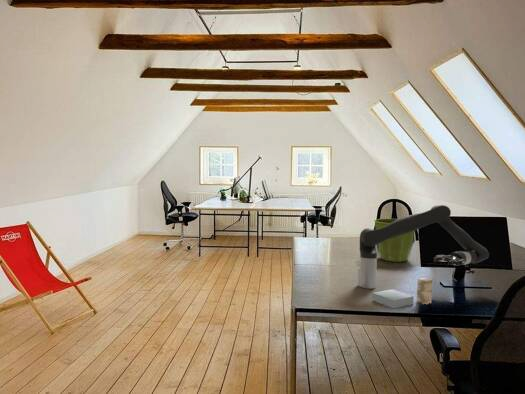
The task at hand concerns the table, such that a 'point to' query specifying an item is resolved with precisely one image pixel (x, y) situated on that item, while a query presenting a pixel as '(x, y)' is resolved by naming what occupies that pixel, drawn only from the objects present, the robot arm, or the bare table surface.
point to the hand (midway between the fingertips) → (441, 261)
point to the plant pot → (394, 244)
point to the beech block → (424, 290)
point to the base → (393, 298)
